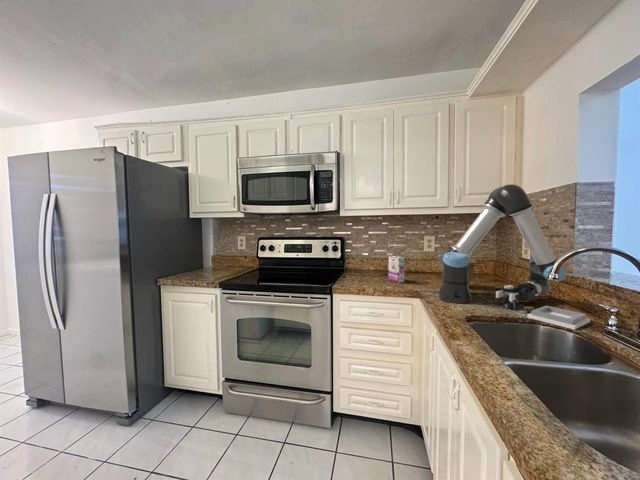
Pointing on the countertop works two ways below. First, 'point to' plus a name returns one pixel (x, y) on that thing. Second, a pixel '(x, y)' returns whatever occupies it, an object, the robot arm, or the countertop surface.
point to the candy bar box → (396, 269)
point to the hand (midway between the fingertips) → (503, 296)
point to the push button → (508, 290)
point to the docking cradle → (559, 317)
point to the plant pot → (470, 269)
